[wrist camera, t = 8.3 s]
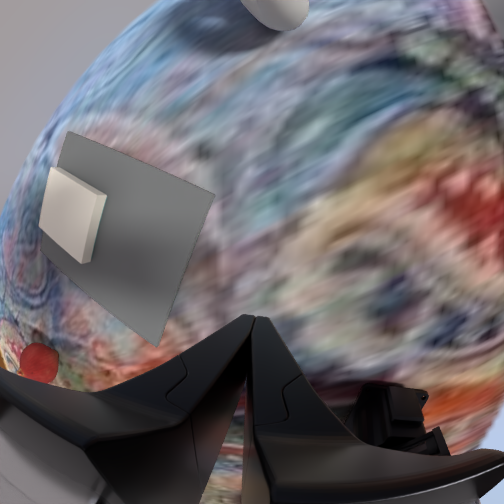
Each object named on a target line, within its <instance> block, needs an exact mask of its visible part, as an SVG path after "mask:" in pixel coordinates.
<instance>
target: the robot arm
mask: <svg viewBox="0 0 504 504" xmlns="http://www.w3.org/2000/svg"><path fill="white" fill-rule="evenodd" d="M246 377H247V380H246ZM245 381H246V398H245V422H244V447H243V471H242V496H241V504H481V503H480V500H479V499H480V498H481V497H482V496H484V495H485V494H486V493H487V492H488V491H490V490H491V489H492V488H493V487H495V486H496V485H497V484H498V483H499V482H500V481H501V480H503V479H504V452H502V451H499V450H493V449H478V450H474V451H471V452H467V453H464V454H459V455H453V456H451V455H450V452H449V450H448V447H447V444H446V442H445V439H444V437H443V435H442V432H441V430H440V427H439V426H438V427H436V428H434V429H432V431H430V432H428V433H426V430H425V427H424V424H423V421H424V416H423V413H422V408H423V406H424V405H425V403H426V401H427V400H428V397H429V395H428V393H427V391H420V390H414V389H410V388H402V387H394V386H381V385H375V384H365V385H363V386H362V388H361V390H360V392H359V395H358V397H357V399H356V401H355V403H354V405H353V407H352V409H351V411H350V413H349V415H348V417H347V419H346V421H345V423H344V424H343V423H342V422H341V421H340V420H339V418H338V417H337V416H336V415H335V414H334V413H333V412H332V411H331V410H330V408H329V407H328V406H327V405H326V404H325V403H324V401H323V400H322V399H321V398H320V397H319V395H318V394H317V393H316V391H315V390H314V388H313V387H312V386H311V384H310V383H309V381H308V380H307V378H306V376H305V375H304V373H303V372H302V370H301V369H300V367H299V365H298V364H297V362H296V361H295V359H294V357H293V356H292V354H291V352H290V351H289V349H288V348H287V346H286V344H285V343H284V341H283V340H282V338H281V336H280V335H279V333H278V331H277V330H276V328H275V327H274V325H273V323H272V322H271V320H270V318H268V317H262V316H257V317H255V316H254V315H247V314H243V315H241V316H239V317H238V318H236V319H235V320H233V321H232V322H230V323H229V324H227V325H225V326H224V327H222V328H221V329H219V330H218V331H216V332H214V333H213V334H211V335H210V336H208V337H207V338H205V339H203V340H202V341H200V342H199V343H197V344H195V345H194V346H192V347H191V348H189V349H187V350H186V351H184V352H182V353H181V354H179V355H177V356H176V357H174V358H172V359H171V360H169V361H167V362H165V363H164V364H162V365H160V366H158V367H156V368H154V369H152V370H150V371H148V372H146V373H144V374H141V375H139V376H137V377H134V378H132V379H130V380H127V381H125V382H123V383H120V384H118V385H115V386H113V387H111V388H108V389H105V390H102V391H98V392H80V391H75V390H70V389H66V388H62V387H58V386H54V385H50V384H46V383H42V382H39V381H35V380H32V379H28V378H25V377H22V376H19V375H17V374H14V373H12V372H9V371H7V370H5V369H3V368H1V367H0V504H199V502H200V500H201V497H202V494H203V492H204V490H205V487H206V485H207V482H208V480H209V477H210V475H211V472H212V470H213V467H214V465H215V462H216V460H217V457H218V455H219V452H220V449H221V447H222V444H223V442H224V439H225V436H226V434H227V431H228V428H229V426H230V423H231V420H232V418H233V415H234V412H235V410H236V407H237V404H238V401H239V399H240V396H241V393H242V390H243V387H244V384H245ZM366 389H369V390H368V391H366ZM423 396H424V397H423ZM421 397H423V398H421Z"/></svg>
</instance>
